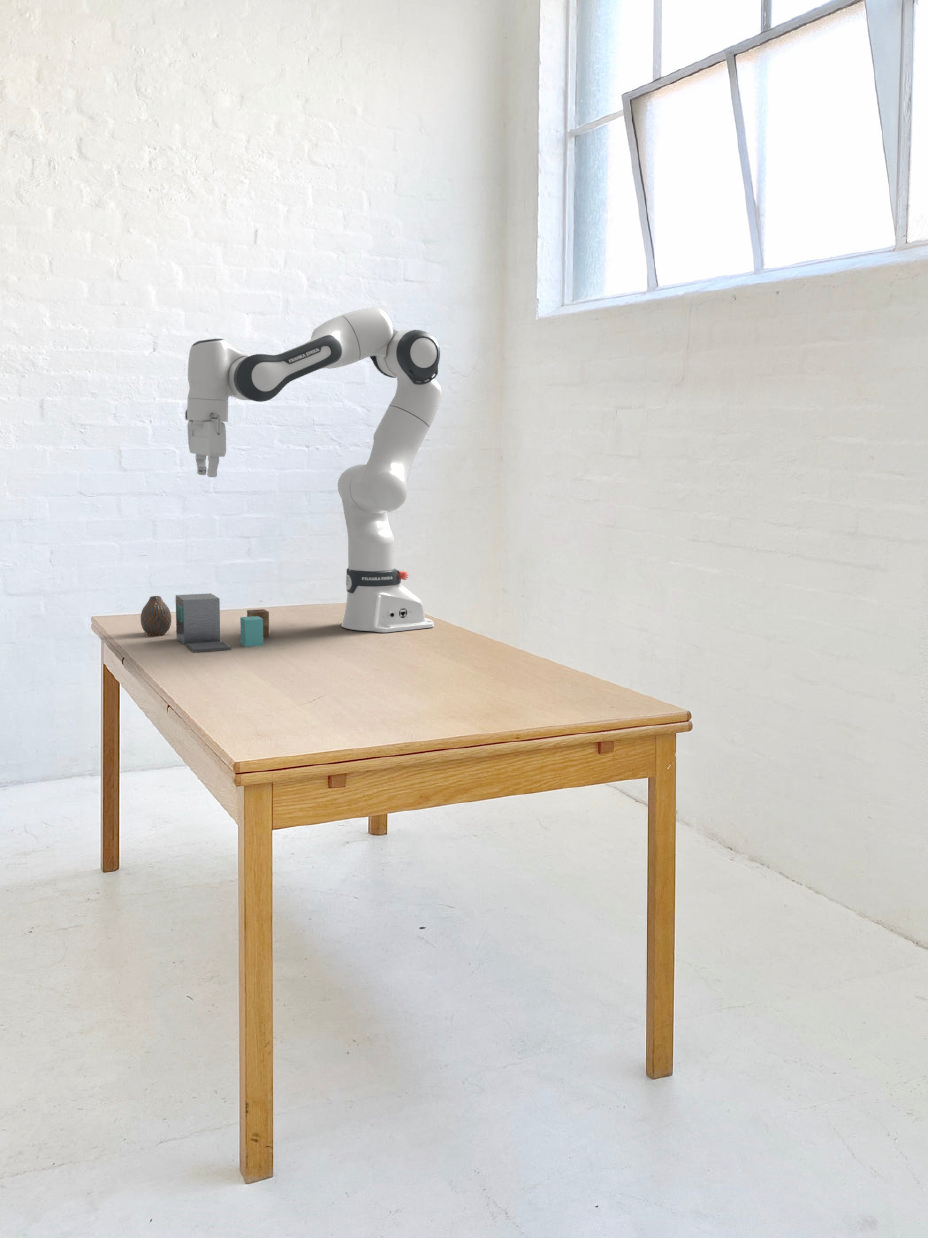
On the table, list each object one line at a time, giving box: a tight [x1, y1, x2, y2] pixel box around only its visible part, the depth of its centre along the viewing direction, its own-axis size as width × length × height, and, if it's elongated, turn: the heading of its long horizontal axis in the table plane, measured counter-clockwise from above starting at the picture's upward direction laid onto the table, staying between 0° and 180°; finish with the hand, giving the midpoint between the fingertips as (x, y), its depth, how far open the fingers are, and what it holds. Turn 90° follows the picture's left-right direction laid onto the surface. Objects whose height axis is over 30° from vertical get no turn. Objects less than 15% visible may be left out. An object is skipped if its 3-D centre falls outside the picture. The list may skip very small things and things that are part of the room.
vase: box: [140, 595, 172, 636], centre depth 276 cm, size 7×7×9 cm
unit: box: [175, 593, 221, 646], centre depth 268 cm, size 8×8×10 cm
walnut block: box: [246, 608, 270, 639], centre depth 275 cm, size 4×4×6 cm
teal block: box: [239, 616, 264, 648], centre depth 265 cm, size 4×4×6 cm
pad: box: [186, 640, 232, 653], centre depth 261 cm, size 8×7×1 cm
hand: (206, 475), depth 266 cm, fingers open, 8 cm apart
